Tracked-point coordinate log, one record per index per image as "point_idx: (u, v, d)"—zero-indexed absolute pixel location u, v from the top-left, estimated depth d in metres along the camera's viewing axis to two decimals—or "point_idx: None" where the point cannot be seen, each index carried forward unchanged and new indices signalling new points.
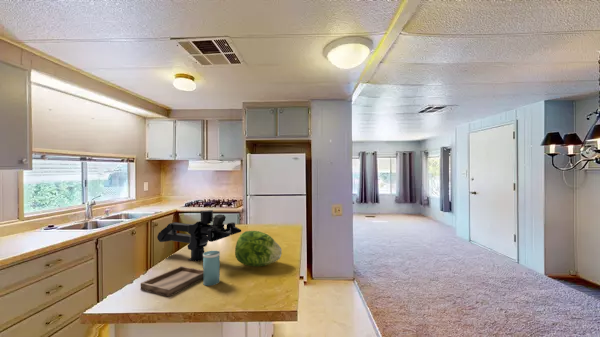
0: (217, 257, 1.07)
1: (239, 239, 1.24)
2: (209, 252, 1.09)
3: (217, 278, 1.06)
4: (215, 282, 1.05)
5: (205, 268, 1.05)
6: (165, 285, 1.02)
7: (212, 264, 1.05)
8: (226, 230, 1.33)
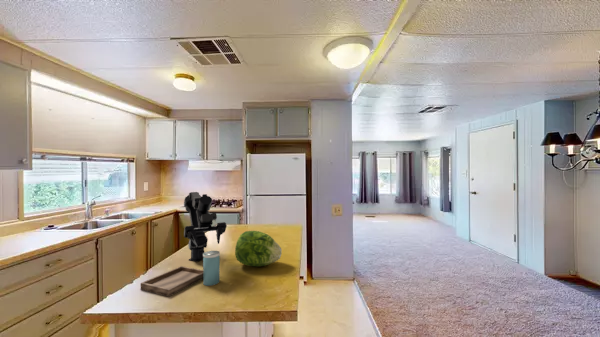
0: (217, 257, 1.07)
1: (239, 239, 1.24)
2: (209, 252, 1.09)
3: (217, 278, 1.06)
4: (215, 282, 1.05)
5: (205, 268, 1.05)
6: (165, 285, 1.02)
7: (212, 264, 1.05)
8: (211, 230, 1.21)
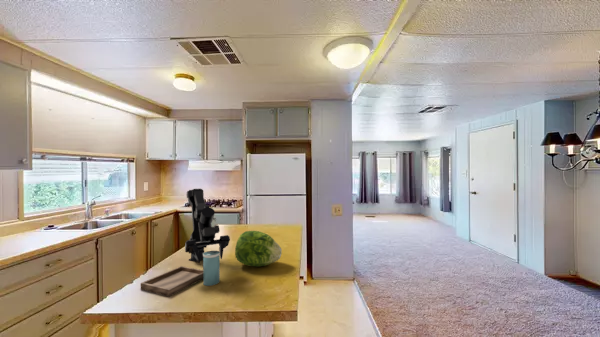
0: (217, 257, 1.07)
1: (239, 239, 1.24)
2: (209, 252, 1.09)
3: (217, 278, 1.06)
4: (215, 282, 1.05)
5: (205, 268, 1.05)
6: (165, 285, 1.02)
7: (212, 264, 1.05)
8: (213, 243, 1.15)
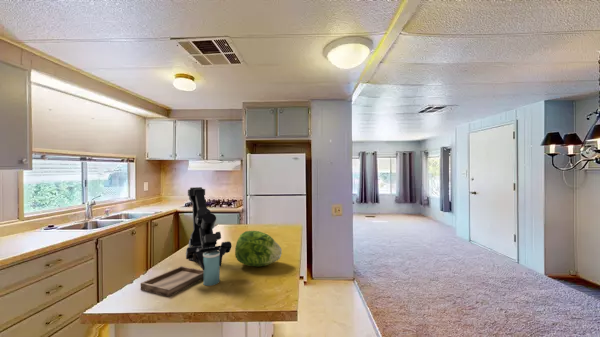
0: (217, 257, 1.07)
1: (239, 239, 1.24)
2: (209, 252, 1.09)
3: (217, 278, 1.06)
4: (215, 282, 1.05)
5: (205, 268, 1.05)
6: (165, 285, 1.02)
7: (212, 264, 1.05)
8: (215, 250, 1.13)
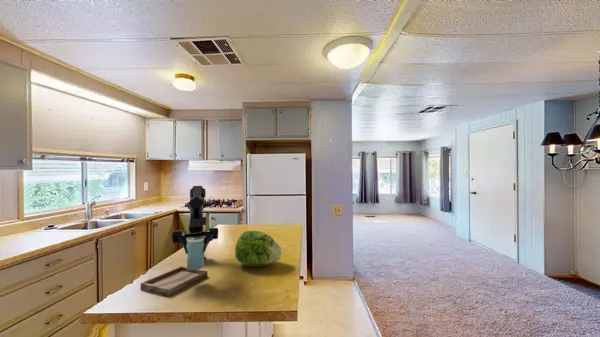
0: (200, 242, 1.05)
1: (239, 239, 1.24)
2: (194, 237, 1.08)
3: (200, 263, 1.05)
4: (197, 267, 1.04)
5: (188, 252, 1.04)
6: (165, 285, 1.02)
7: (194, 249, 1.04)
8: (202, 235, 1.12)
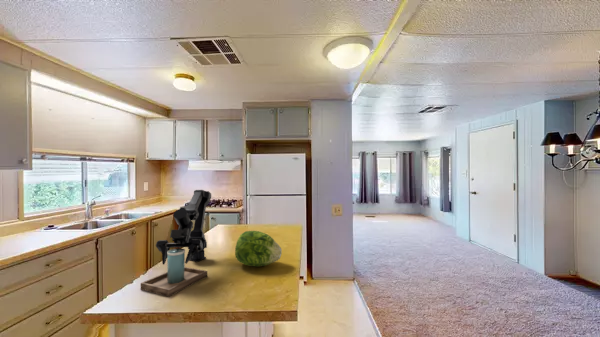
0: (178, 256, 1.05)
1: (239, 239, 1.24)
2: (176, 250, 1.09)
3: (178, 277, 1.05)
4: (175, 281, 1.05)
5: (167, 265, 1.06)
6: (165, 285, 1.02)
7: (172, 262, 1.04)
8: (185, 246, 1.12)
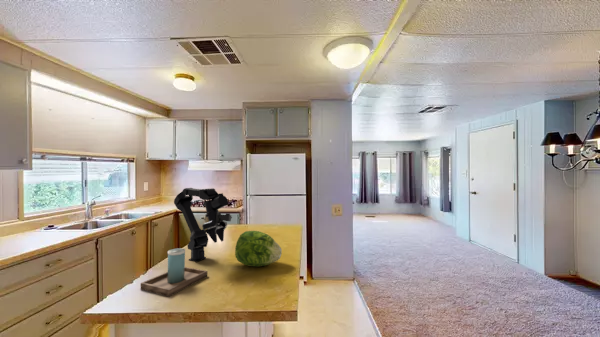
0: (178, 255, 1.06)
1: (239, 239, 1.24)
2: (176, 249, 1.09)
3: (178, 277, 1.05)
4: (175, 280, 1.05)
5: (168, 265, 1.06)
6: (165, 285, 1.02)
7: (172, 262, 1.05)
8: (217, 226, 1.31)
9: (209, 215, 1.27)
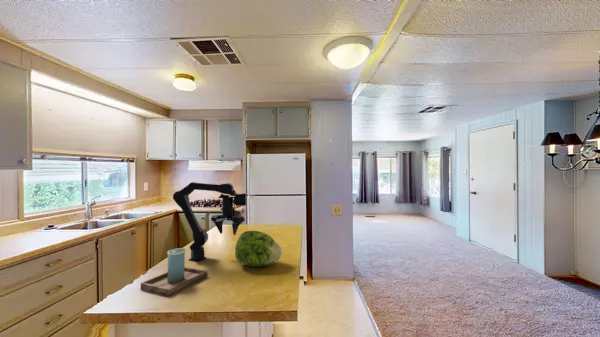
0: (178, 255, 1.06)
1: (239, 239, 1.24)
2: (176, 249, 1.09)
3: (178, 277, 1.05)
4: (175, 280, 1.05)
5: (168, 264, 1.06)
6: (165, 285, 1.02)
7: (172, 262, 1.05)
8: (224, 219, 1.40)
9: (230, 209, 1.37)
